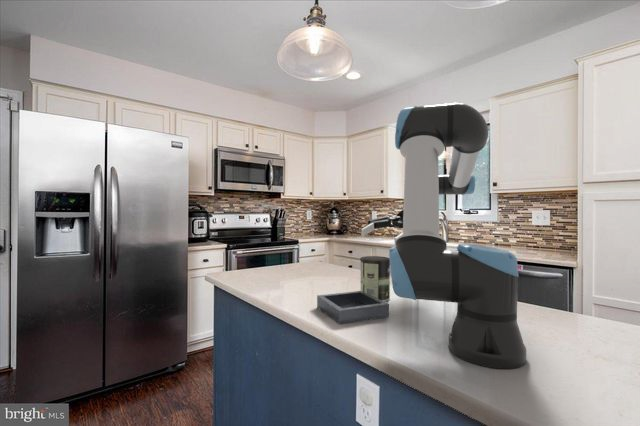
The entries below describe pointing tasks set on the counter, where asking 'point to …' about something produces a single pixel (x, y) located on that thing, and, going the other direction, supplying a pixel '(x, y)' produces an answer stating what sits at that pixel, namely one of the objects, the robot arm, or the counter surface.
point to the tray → (352, 307)
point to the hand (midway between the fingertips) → (378, 237)
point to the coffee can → (376, 276)
